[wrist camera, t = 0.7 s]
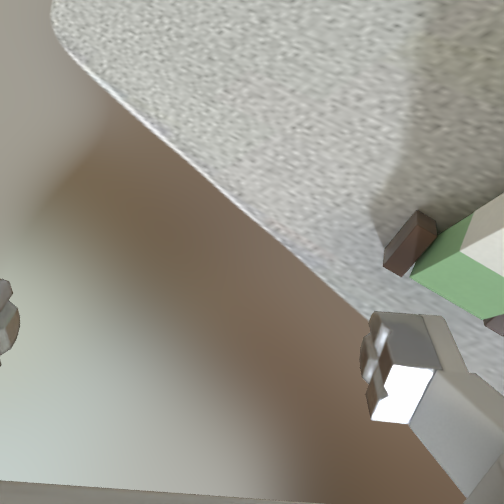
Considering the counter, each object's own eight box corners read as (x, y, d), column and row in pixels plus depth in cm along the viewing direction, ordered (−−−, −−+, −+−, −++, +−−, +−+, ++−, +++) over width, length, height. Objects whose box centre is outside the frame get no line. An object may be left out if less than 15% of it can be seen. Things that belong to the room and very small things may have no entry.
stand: (416, 209, 33) (417, 224, 30) (537, 280, 32) (546, 300, 30) (383, 249, 35) (382, 266, 33) (497, 316, 35) (503, 337, 33)
